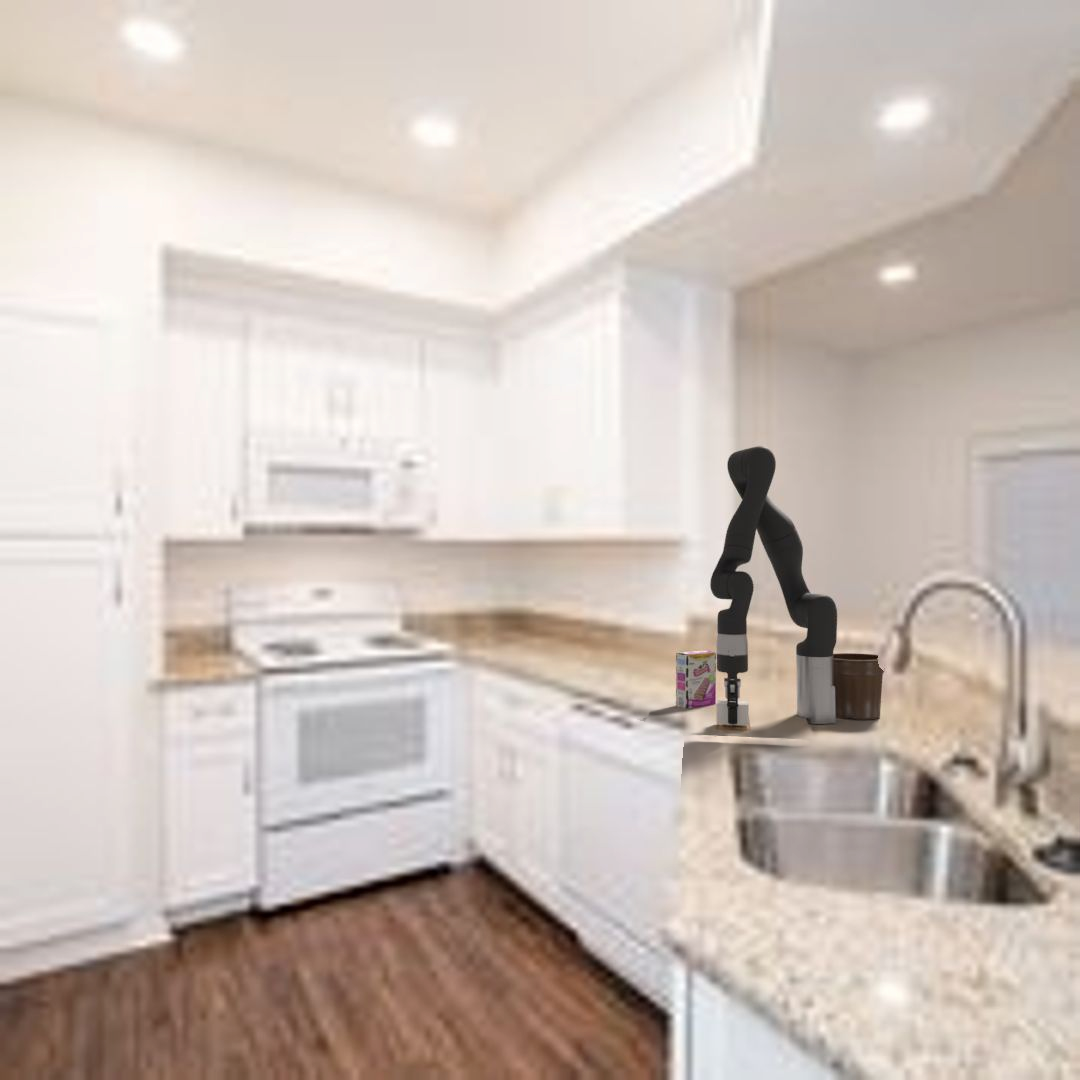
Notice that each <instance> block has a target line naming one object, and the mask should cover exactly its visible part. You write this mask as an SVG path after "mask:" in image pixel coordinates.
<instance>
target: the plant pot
mask: <svg viewBox="0 0 1080 1080" xmlns="http://www.w3.org/2000/svg"><path fill="white" fill-rule="evenodd" d="M878 655H879V654H871V653H857V652H856V653H855V652H854V653H853V652H852V653H851V652H849V653H848V652H846V653H845V652H844V653H843V652H842V653H840V652H839V653H833V667H834V686H835V715H836V718H838V717H839V718H841V719H850V718H851V719H854V720H858V721H859V720H861V721H862V720H863V721H868V720H869V721H870V720H876V719H879V717H880V718H881V709H882V708H881V706H882V691H883V678H884V677H883V676H884V673H885V670H884V671H883V670H882V669H881V668H880V667H879V664H878V659H877V658H878Z"/></svg>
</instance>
